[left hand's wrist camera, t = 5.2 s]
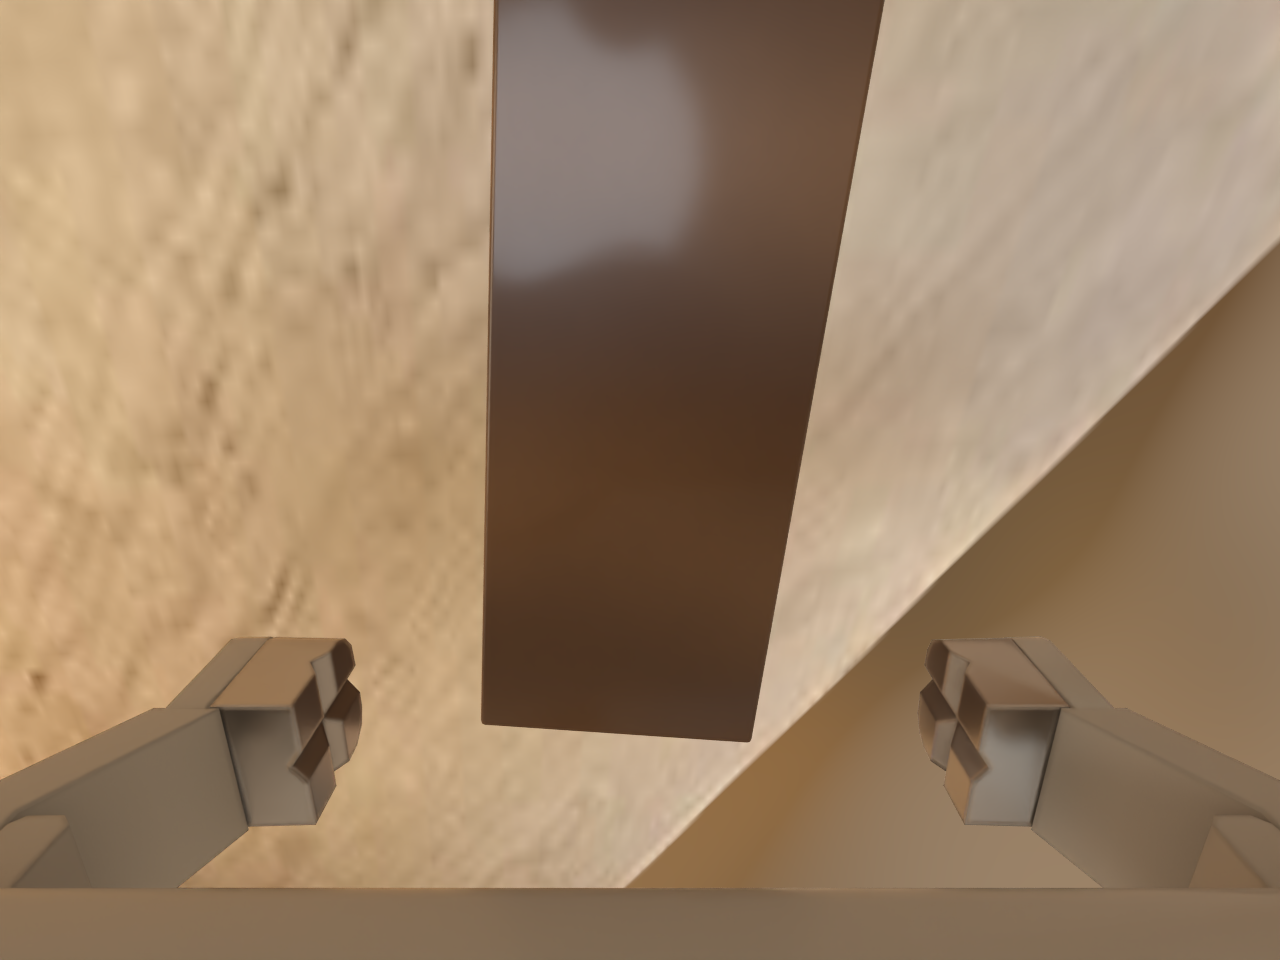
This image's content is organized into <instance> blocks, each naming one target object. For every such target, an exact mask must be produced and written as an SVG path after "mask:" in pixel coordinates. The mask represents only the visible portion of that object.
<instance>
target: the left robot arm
mask: <svg viewBox="0 0 1280 960" xmlns="http://www.w3.org/2000/svg"><path fill="white" fill-rule="evenodd" d="M354 667H355V661H354V656H353V651H352V646H351V644H350V643H349V642H348V641H347V640H346V639H342V638H293V637H275V638H273V637H239V638H235V639H231V640H230V641H229V642H228V643H227V644H226V645H225V646H224V647H223V648H222V650H221V651H220V652H219V653H218V654H217V655H216V656H215V657H214V658H213V659H212V660H211V661H210V662H209V663H208V664H207V665H206V666H205V667H204V668H203V669H202V670H201V672H200V673H199V674H198V675H197V676H196V677H195V678H194V679H193V680H192V681H191V682H190V683H189V684H188V685H187V686H186V687H185V688H184V689H183V690H182V691H181V692H180V694H179V695H178V696H177V697H176V698H175V699H174V700H173V701H172V702H171V703H170V704H169V705H168V706H167V707H166V708H153V709H151V710H149V711H147V712H144V713H142V714H140V715H138V716H136V717H134V718H132V719H130V720H127V721H125V722H123V723H121V724H119V725H117V726H115V727H112V728H110V729H108V730H106V731H104V732H102V733H100V734H98V735H95V736H93V737H91V738H89V739H87V740H85V741H83V742H81V743H78V744H76V745H74V746H72V747H70V748H68V749H66V750H63V751H61V752H59V753H57V754H55V755H53V756H51V757H49V758H46V759H44V760H42V761H40V762H38V763H36V764H34V765H31V766H29V767H27V768H25V769H23V770H21V771H19V772H17V773H14V774H12V775H10V776H8V777H6V778H4V779H2V780H0V960H1280V780H1278V779H1276V778H1274V777H1272V776H1269V775H1267V774H1265V773H1263V772H1261V771H1259V770H1257V769H1255V768H1252V767H1250V766H1248V765H1246V764H1244V763H1242V762H1240V761H1238V760H1235V759H1233V758H1231V757H1229V756H1227V755H1225V754H1223V753H1221V752H1218V751H1216V750H1214V749H1212V748H1210V747H1208V746H1206V745H1204V744H1201V743H1199V742H1197V741H1195V740H1193V739H1191V738H1189V737H1187V736H1184V735H1182V734H1180V733H1178V732H1176V731H1174V730H1172V729H1169V728H1167V727H1165V726H1163V725H1161V724H1159V723H1157V722H1155V721H1153V720H1150V719H1148V718H1146V717H1144V716H1142V715H1140V714H1138V713H1136V712H1133V711H1131V710H1129V709H1127V708H1114V707H1113V706H1112V705H1111V704H1110V703H1109V702H1108V701H1107V700H1106V699H1105V698H1104V697H1103V696H1102V695H1101V693H1100V692H1099V691H1098V690H1097V689H1096V688H1095V687H1094V686H1093V685H1092V684H1091V683H1090V682H1089V681H1088V680H1087V679H1086V678H1085V677H1084V676H1083V675H1082V674H1081V673H1080V671H1079V670H1078V669H1077V668H1076V667H1075V666H1074V665H1073V664H1072V663H1071V662H1070V661H1069V660H1068V659H1067V658H1066V657H1065V656H1064V655H1063V654H1062V653H1061V651H1060V650H1059V649H1058V648H1057V647H1056V646H1055V645H1054V644H1053V643H1052V642H1051V641H1050V640H1048V639H1045V638H1043V637H1041V636H1038V637H1011V638H986V639H945V640H932V641H931V643H930V645H929V647H928V649H927V654H926V660H925V667H926V668H927V670H928V672H929V673H930V675H931V677H932V678H933V680H932V681H931V682H930V683H929V684H928V685H927V686H926V687H925V688H924V689H923V690H922V691H921V692H920V698H919V706H918V722H919V732H920V736H921V739H922V743H923V746H924V748H925V750H926V752H927V754H928V756H929V758H930V760H931V761H932V762H933V763H935V764H936V765H937V766H939V767H940V768H942V769H943V770H945V771H946V775H945V781H944V787H945V789H946V791H947V793H948V795H949V796H950V798H951V800H952V802H953V804H954V806H955V808H956V810H957V811H958V813H959V815H960V817H961V819H962V821H963V823H964V824H965V825H994V826H1030V827H1032V831H1034V832H1035V833H1036V834H1037V835H1039V836H1040V837H1041V838H1042V839H1044V840H1045V841H1046V842H1047V843H1048V844H1050V845H1051V846H1052V847H1053V848H1055V849H1056V850H1057V851H1058V852H1060V853H1061V854H1062V855H1063V856H1065V857H1066V858H1067V859H1068V860H1069V861H1071V862H1072V863H1073V864H1074V865H1076V866H1077V867H1078V868H1079V869H1081V870H1082V871H1083V872H1084V873H1085V874H1087V875H1088V876H1089V877H1090V878H1092V879H1093V880H1094V881H1095V882H1097V883H1098V884H1099V885H1100V886H1101V887H1103V888H178V887H179V886H180V885H181V884H182V883H184V882H185V881H186V880H187V879H189V878H190V877H191V876H192V875H194V874H195V873H196V872H197V871H199V870H200V869H201V868H202V867H203V866H205V865H206V864H207V863H208V862H210V861H211V860H212V859H213V858H215V857H216V856H217V855H218V854H220V853H221V852H222V851H223V850H224V849H226V848H227V847H228V846H229V845H231V844H232V843H233V842H234V841H236V840H237V839H238V838H239V837H241V836H242V835H243V834H244V833H245V832H247V831H248V827H250V826H285V825H316V823H317V821H318V819H319V817H320V815H321V813H322V812H323V810H324V808H325V806H326V804H327V802H328V800H329V798H330V797H331V795H332V793H333V791H334V789H335V787H336V781H335V775H334V771H335V770H337V769H338V768H340V767H341V766H343V765H344V764H345V763H347V762H348V761H349V760H350V758H351V756H352V754H353V752H354V750H355V748H356V746H357V743H358V739H359V734H360V730H361V726H362V704H361V697H360V692H359V691H358V690H357V689H356V688H355V687H354V686H353V685H352V684H351V683H350V682H349V681H348V680H347V678H348V677H349V675H350V673H351V672H352V670H353V668H354Z"/></svg>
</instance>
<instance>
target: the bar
mask: <svg viewBox="0 0 1280 960" xmlns="http://www.w3.org/2000/svg"><path fill="white" fill-rule="evenodd" d="M884 1H885V0H494V23H493V79H492V135H491V192H490V248H489V304H488V360H487V416H486V472H485V529H484V585H483V641H482V697H481V721H482V724H485V725H499V726H513V727H528V728H543V729H557V730H572V731H587V732H602V733H616V734H631V735H646V736H661V737H675V738H690V739H705V740H720V741H734V742H750V740H751V738H752V732H753V727H754V721H755V716H756V710H757V705H758V699H759V693H760V688H761V682H762V677H763V671H764V666H765V660H766V655H767V649H768V644H769V638H770V632H771V627H772V621H773V616H774V610H775V605H776V599H777V594H778V588H779V583H780V577H781V572H782V566H783V560H784V555H785V549H786V544H787V538H788V533H789V527H790V522H791V516H792V511H793V505H794V499H795V494H796V488H797V483H798V477H799V472H800V466H801V461H802V455H803V450H804V444H805V439H806V433H807V427H808V422H809V416H810V411H811V405H812V400H813V394H814V389H815V383H816V378H817V372H818V366H819V361H820V355H821V350H822V344H823V339H824V333H825V328H826V322H827V317H828V311H829V306H830V300H831V294H832V289H833V283H834V278H835V272H836V267H837V261H838V256H839V250H840V245H841V239H842V233H843V228H844V222H845V217H846V211H847V206H848V200H849V195H850V189H851V184H852V178H853V173H854V167H855V161H856V156H857V150H858V145H859V139H860V134H861V128H862V123H863V117H864V112H865V106H866V100H867V95H868V89H869V84H870V78H871V73H872V67H873V62H874V56H875V51H876V45H877V40H878V34H879V28H880V23H881V17H882V12H883V6H884Z"/></svg>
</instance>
